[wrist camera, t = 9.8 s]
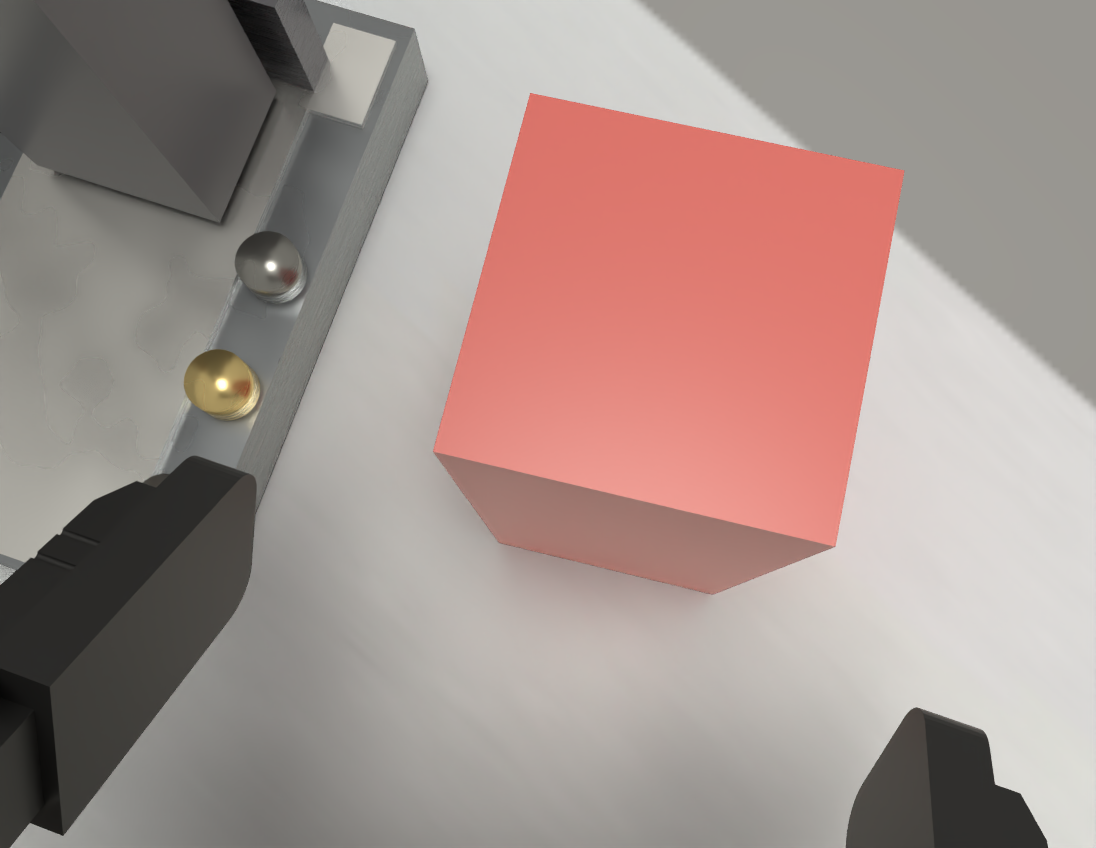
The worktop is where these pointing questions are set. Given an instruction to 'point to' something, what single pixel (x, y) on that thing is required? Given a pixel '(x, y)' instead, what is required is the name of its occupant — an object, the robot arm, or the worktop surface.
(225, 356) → the ball-studded metal plate
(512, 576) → the worktop surface
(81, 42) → the block
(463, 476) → the block
